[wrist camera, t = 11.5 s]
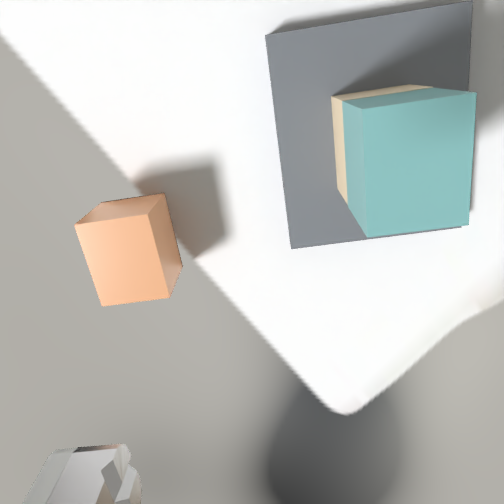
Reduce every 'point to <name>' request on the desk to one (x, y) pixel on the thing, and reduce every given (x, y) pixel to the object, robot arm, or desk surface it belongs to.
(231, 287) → the desk surface
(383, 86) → the plate
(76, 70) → the desk surface
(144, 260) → the terracotta brick
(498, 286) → the desk surface
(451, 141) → the teal brick
